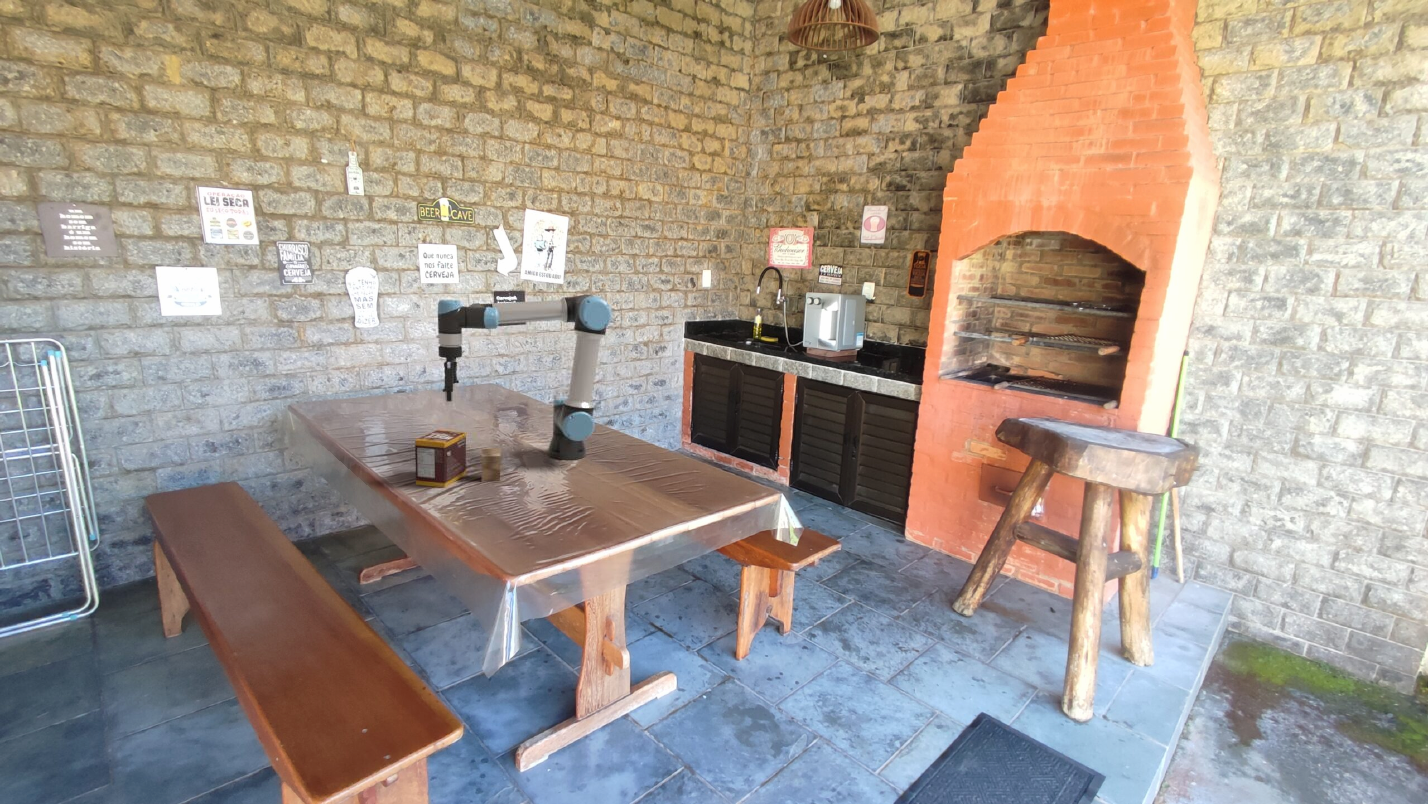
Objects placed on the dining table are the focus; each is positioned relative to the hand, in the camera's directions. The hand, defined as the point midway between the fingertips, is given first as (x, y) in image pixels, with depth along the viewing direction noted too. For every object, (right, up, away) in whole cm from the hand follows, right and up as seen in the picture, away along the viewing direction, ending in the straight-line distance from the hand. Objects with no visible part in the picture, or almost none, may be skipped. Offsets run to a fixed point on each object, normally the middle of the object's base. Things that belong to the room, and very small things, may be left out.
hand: (451, 405), depth 229 cm
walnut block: (+14, -26, +1) cm, 29 cm away
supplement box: (-2, -25, -3) cm, 26 cm away
